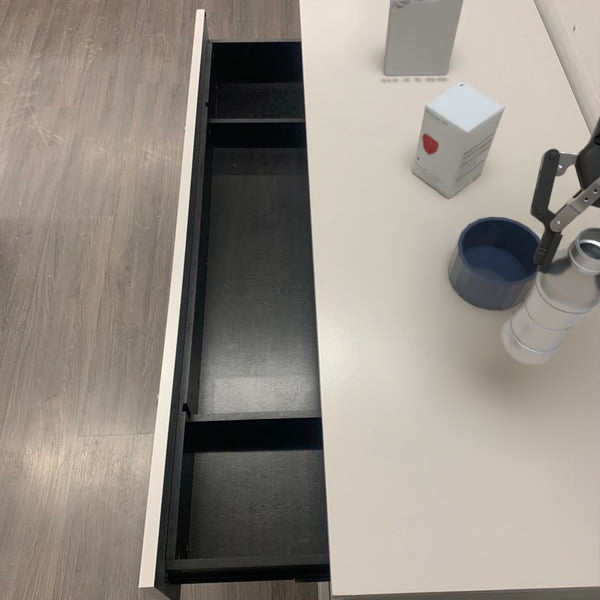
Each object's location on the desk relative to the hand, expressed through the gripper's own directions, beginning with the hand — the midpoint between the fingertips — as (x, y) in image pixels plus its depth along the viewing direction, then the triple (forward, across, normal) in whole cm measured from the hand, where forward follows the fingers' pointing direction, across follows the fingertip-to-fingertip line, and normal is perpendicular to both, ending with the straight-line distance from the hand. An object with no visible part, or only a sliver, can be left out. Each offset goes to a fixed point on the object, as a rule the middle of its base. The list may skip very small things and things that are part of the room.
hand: (577, 282), depth 48 cm
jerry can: (-24, -34, +67) cm, 79 cm away
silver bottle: (+10, 0, +13) cm, 17 cm away
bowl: (+7, -5, +35) cm, 36 cm away
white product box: (-6, -18, +48) cm, 52 cm away
